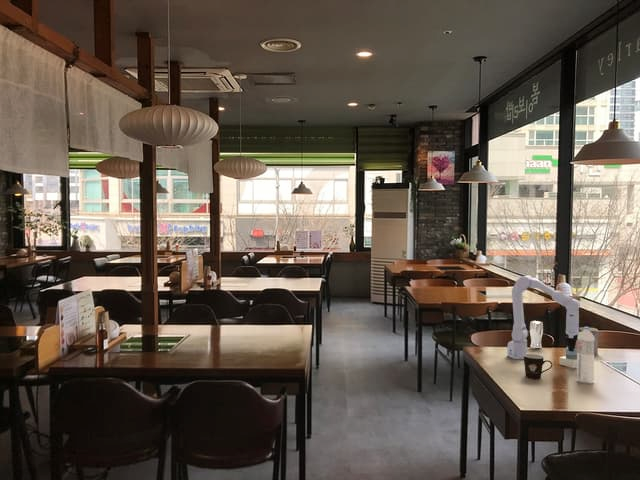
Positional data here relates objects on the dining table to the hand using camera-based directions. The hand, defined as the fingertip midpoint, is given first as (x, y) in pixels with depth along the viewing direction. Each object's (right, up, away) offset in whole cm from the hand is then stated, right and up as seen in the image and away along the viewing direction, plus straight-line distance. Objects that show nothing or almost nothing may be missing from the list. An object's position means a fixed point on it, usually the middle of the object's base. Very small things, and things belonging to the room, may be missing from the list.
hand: (571, 349), depth 263 cm
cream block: (0, -8, 0) cm, 8 cm away
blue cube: (0, -4, 0) cm, 4 cm away
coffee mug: (-28, -8, -24) cm, 38 cm away
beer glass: (-2, -7, +39) cm, 40 cm away
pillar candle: (+22, -8, +27) cm, 35 cm away
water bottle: (-8, -9, -29) cm, 31 cm away
